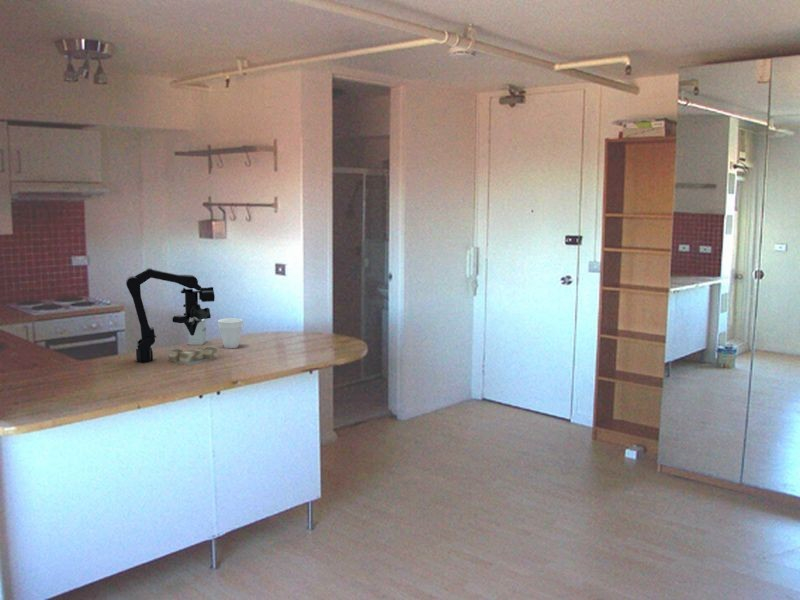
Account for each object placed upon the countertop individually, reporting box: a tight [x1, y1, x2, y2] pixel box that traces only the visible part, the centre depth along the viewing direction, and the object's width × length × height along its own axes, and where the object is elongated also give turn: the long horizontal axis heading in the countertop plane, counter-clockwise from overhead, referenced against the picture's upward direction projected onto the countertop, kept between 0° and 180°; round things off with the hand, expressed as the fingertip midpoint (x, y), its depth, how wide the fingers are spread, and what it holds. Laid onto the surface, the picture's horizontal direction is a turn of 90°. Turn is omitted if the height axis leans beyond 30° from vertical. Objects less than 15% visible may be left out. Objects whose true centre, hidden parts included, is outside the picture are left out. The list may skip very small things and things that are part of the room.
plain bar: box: [179, 347, 204, 362], centre depth 337 cm, size 12×4×4 cm, turn 147°
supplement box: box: [187, 319, 207, 346], centre depth 375 cm, size 7×7×13 cm
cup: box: [217, 317, 244, 349], centre depth 367 cm, size 12×12×14 cm
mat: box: [172, 358, 217, 366], centre depth 338 cm, size 17×14×1 cm
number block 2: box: [202, 346, 219, 361], centre depth 340 cm, size 4×4×5 cm
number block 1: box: [168, 348, 184, 363], centre depth 336 cm, size 4×4×5 cm
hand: (192, 335), depth 341 cm, fingers closed
